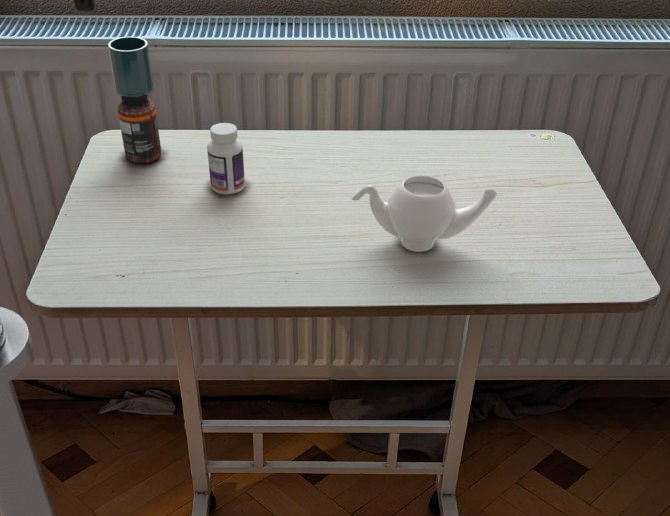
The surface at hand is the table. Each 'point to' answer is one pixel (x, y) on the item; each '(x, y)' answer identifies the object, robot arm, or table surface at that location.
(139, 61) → the cup
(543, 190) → the table surface
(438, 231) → the teapot
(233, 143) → the pill bottle
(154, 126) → the supplement bottle
